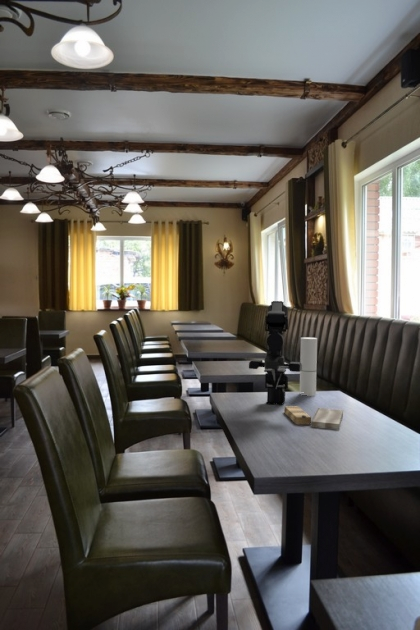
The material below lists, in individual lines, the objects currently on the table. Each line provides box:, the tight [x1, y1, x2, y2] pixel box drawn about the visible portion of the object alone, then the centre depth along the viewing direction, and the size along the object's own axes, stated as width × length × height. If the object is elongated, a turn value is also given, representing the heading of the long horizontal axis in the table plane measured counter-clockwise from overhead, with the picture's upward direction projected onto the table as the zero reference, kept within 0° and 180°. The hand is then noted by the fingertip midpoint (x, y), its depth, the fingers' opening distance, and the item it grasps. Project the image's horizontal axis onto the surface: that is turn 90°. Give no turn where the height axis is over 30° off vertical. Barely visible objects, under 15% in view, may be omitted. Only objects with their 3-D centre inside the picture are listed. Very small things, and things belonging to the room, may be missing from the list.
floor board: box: [310, 407, 344, 430], centre depth 165 cm, size 9×20×2 cm, turn 161°
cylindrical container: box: [299, 336, 318, 397], centre depth 208 cm, size 7×7×25 cm
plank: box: [283, 405, 312, 425], centre depth 167 cm, size 17×5×3 cm, turn 6°
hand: (274, 388), depth 173 cm, fingers closed
